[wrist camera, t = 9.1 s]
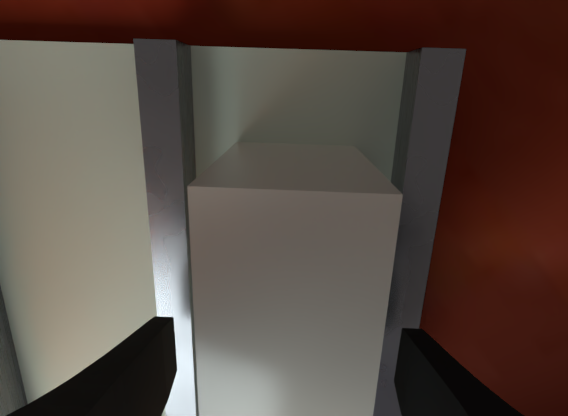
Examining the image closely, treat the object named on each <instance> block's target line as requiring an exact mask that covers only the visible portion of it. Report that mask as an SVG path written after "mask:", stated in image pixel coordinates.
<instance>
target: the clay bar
mask: <svg viewBox="0 0 568 416" xmlns="http://www.w3.org/2000/svg"><path fill="white" fill-rule="evenodd" d="M187 191H188V211H189V230H190V250H191V269H192V289H193V309H194V328H195V348H196V367H197V387H198V406H199V416H373V412H374V404H375V397H376V389H377V382H378V375H379V367H380V360H381V353H382V345H383V338H384V330H385V323H386V316H387V308H388V301H389V294H390V286H391V279H392V272H393V264H394V257H395V249H396V242H397V235H398V227H399V220H400V213H401V205H402V198H403V194H402V193H401V192H400V191H399V190H398V189H397V188H396V187H395V186H394V185H393V184H392V183H391V182H390V181H389V180H388V179H387V178H386V177H385V176H384V175H383V174H382V173H381V172H380V171H379V170H378V169H377V168H376V167H375V166H374V165H373V164H372V163H371V162H370V161H369V160H368V159H367V158H366V157H365V156H364V155H363V154H362V153H361V152H360V151H359V150H358V149H357V148H356V147H355V146H341V145H314V144H286V143H258V142H236V143H235V144H234V145H233V146H231V147H230V148H229V149H228V150H227V151H226V152H225V153H224V154H223V155H221V156H220V157H219V158H218V159H217V160H216V161H215V162H214V163H213V164H211V165H210V166H209V167H208V168H207V169H206V170H205V171H204V172H202V173H201V174H200V175H199V176H198V177H197V178H196V179H195V180H194V181H192V182H191V183H190V184H189V185H188V186H187Z"/></svg>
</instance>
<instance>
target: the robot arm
mask: <svg viewBox="0 0 568 416" xmlns="http://www.w3.org/2000/svg"><path fill="white" fill-rule="evenodd" d="M176 373H177V359H176V345H175V331H174V317H159V316H154V317H153V318H152V319H150V320H149V321H148V322H146V323H145V324H144V325H142V326H141V327H140V328H139V329H137V330H136V331H135V332H133V333H132V334H131V335H130V336H128V337H127V338H126V339H125V340H123V341H122V342H121V343H119V344H118V345H117V346H115V347H114V348H113V349H111V350H110V351H109V352H108V353H106V354H105V355H104V356H102V357H101V358H99V359H98V360H96V361H95V362H94V363H92V364H91V365H89V366H88V367H86V368H85V369H84V370H82V371H81V372H79V373H78V374H76V375H75V376H74V377H72V378H70V379H69V380H67V381H66V382H64V383H63V384H61V385H59V386H58V387H56V388H55V389H53V390H51V391H50V392H48V393H46V394H44V395H43V396H41V397H39V398H38V399H36V400H34V401H32V402H31V403H29V404H27V405H25V406H23V407H21V408H19V409H17V410H16V411H14V412H12V413H10V414H8V415H6V416H162V413H163V411H164V409H165V406H166V404H167V402H168V399H169V396H170V392H171V389H172V386H173V383H174V379H175V376H176ZM394 384H395V389H396V394H397V399H398V403H399V407H400V411H401V415H402V416H524V415H522V414H521V413H519V412H518V411H517V410H515V409H514V408H513V407H511V406H510V405H509V404H507V403H506V402H505V401H504V400H502V399H501V398H500V397H499V396H497V395H496V394H495V393H494V392H492V391H491V390H490V389H489V388H487V387H486V386H485V385H484V384H483V383H481V382H480V381H479V380H478V379H477V378H475V377H474V376H473V375H472V374H471V373H470V372H469V371H467V370H466V369H465V368H464V367H463V366H462V365H461V364H460V363H458V362H457V361H456V360H455V359H454V358H453V357H452V356H451V355H450V354H449V353H448V352H446V351H445V350H444V349H443V348H442V347H441V346H440V345H439V344H438V343H437V342H436V341H435V340H434V339H432V338H431V337H430V336H429V335H428V334H427V333H426V332H425V331H424V330H422V329H415V328H402V330H401V337H400V343H399V350H398V357H397V363H396V370H395V376H394Z"/></svg>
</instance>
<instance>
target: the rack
mask: <svg viewBox="0 0 568 416" xmlns="http://www.w3.org/2000/svg"><path fill="white" fill-rule="evenodd" d="M133 42H134V44H117V43H85V42H53V41H21V40H0V416H6V415H8V414H10V413H12V412H14V411H16V410H17V409H19V408H21V407H23V406H25V405H27V404H29V403H31V402H32V401H34V400H36V399H38V398H39V397H41V396H43V395H44V394H46V393H48V392H50V391H51V390H53V389H55V388H56V387H58V386H59V385H61V384H63V383H64V382H66V381H67V380H69V379H70V378H72V377H74V376H75V375H76V374H78V373H79V372H81V371H82V370H84V369H85V368H86V367H88V366H89V365H91V364H92V363H94V362H95V361H96V360H98V359H99V358H101V357H102V356H104V355H105V354H106V353H108V352H109V351H110V350H111V349H113V348H114V347H115V346H117V345H118V344H119V343H121V342H122V341H123V340H125V339H126V338H127V337H128V336H130V335H131V334H132V333H133V332H135V331H136V330H137V329H139V328H140V327H141V326H142V325H144V324H145V323H146V322H148V321H149V320H150V319H152V318H153V317H154V316H159V317H174V331H175V345H176V359H177V373H176V376H175V379H174V383H173V386H172V389H171V392H170V396H169V399H168V402H167V404H166V406H165V409H164V411H163V413H162V416H199V406H198V387H197V367H196V348H195V328H194V309H193V289H192V269H191V250H190V230H189V211H188V191H187V186H188V185H189V184H190V183H191V182H192V181H194V180H195V179H196V178H197V177H198V176H199V175H200V174H201V173H202V172H204V171H205V170H206V169H207V168H208V167H209V166H210V165H211V164H213V163H214V162H215V161H216V160H217V159H218V158H219V157H220V156H221V155H223V154H224V153H225V152H226V151H227V150H228V149H229V148H230V147H231V146H233V145H234V144H235V143H236V142H258V143H286V144H314V145H341V146H355V147H356V148H357V149H358V150H359V151H360V152H361V153H362V154H363V155H364V156H365V157H366V158H367V159H368V160H369V161H370V162H371V163H372V164H373V165H374V166H375V167H376V168H377V169H378V170H379V171H380V172H381V173H382V174H383V175H384V176H385V177H386V178H387V179H388V180H389V181H390V182H391V183H392V184H393V185H394V186H395V187H396V188H397V189H398V190H399V191H400V192H401V193H402V194H403V198H402V205H401V213H400V220H399V227H398V235H397V242H396V249H395V257H394V264H393V272H392V279H391V286H390V294H389V301H388V308H387V316H386V323H385V330H384V338H383V345H382V353H381V360H380V367H379V375H378V382H377V389H376V397H375V404H374V412H373V416H402V415H401V411H400V407H399V403H398V399H397V394H396V389H395V384H394V376H395V370H396V363H397V357H398V350H399V343H400V337H401V330H402V328H415V329H419V325H420V319H421V313H422V307H423V301H424V295H425V289H426V283H427V278H428V272H429V266H430V260H431V254H432V248H433V242H434V236H435V230H436V225H437V219H438V213H439V207H440V201H441V195H442V189H443V183H444V177H445V172H446V166H447V160H448V154H449V148H450V142H451V136H452V130H453V124H454V119H455V113H456V107H457V101H458V95H459V89H460V83H461V77H462V71H463V66H464V60H465V54H466V49H454V48H419V49H416V50H413V51H410V52H375V51H342V50H310V49H278V48H246V47H214V46H190V45H187V44H185V43H182V42H180V41H177V40H161V39H133Z"/></svg>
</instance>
